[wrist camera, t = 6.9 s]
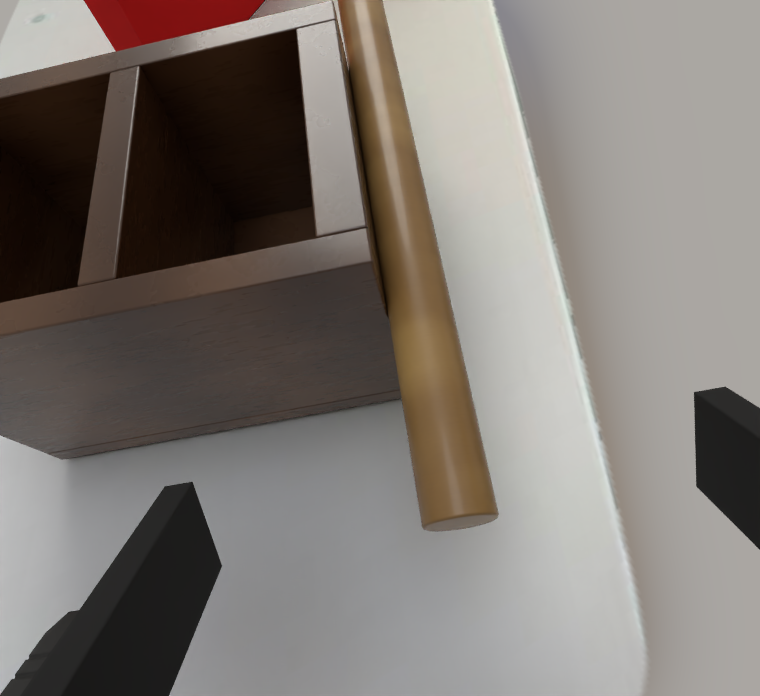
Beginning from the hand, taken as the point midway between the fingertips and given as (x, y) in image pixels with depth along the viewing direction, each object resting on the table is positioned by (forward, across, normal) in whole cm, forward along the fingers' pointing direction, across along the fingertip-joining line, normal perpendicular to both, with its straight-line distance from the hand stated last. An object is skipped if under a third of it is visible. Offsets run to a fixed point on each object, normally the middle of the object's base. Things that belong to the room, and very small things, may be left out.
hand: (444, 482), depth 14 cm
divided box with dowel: (+13, -8, +3) cm, 16 cm away
